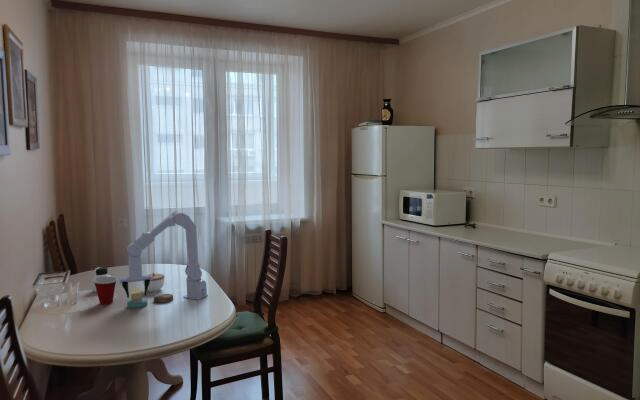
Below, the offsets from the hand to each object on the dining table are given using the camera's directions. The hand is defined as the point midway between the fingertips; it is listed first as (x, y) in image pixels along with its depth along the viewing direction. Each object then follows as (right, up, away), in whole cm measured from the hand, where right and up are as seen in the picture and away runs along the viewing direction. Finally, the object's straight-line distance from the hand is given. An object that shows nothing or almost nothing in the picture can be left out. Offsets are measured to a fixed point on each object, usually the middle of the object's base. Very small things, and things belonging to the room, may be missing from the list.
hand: (136, 296), depth 225 cm
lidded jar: (0, -2, +25) cm, 25 cm away
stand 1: (0, -5, 0) cm, 4 cm away
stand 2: (+10, -4, +8) cm, 13 cm away
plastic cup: (-17, -4, +5) cm, 18 cm away
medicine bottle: (-29, -2, +28) cm, 40 cm away
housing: (0, -3, 0) cm, 3 cm away
